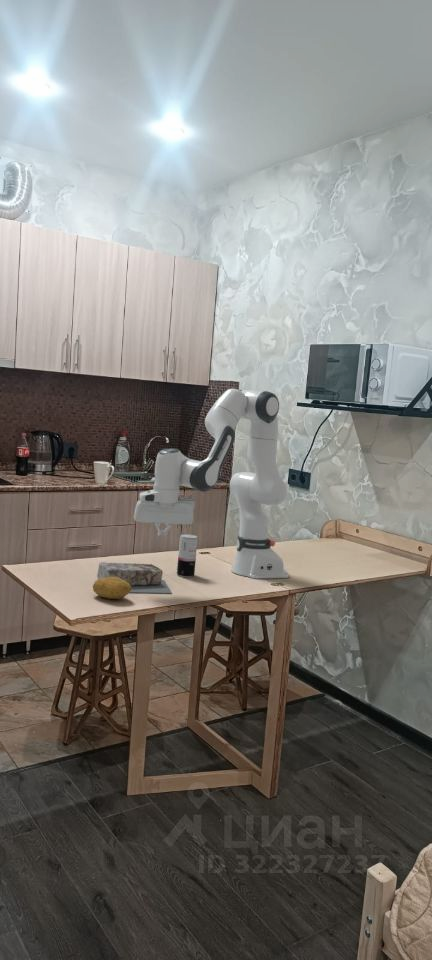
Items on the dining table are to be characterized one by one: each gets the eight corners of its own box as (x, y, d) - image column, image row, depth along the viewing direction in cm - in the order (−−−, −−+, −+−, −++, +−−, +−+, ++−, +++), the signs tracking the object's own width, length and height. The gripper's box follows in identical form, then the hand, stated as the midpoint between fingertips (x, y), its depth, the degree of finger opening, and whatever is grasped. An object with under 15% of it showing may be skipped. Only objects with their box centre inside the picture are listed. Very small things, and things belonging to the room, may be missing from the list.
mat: (164, 581, 254) (164, 580, 254) (171, 594, 239) (172, 592, 239) (111, 579, 250) (111, 578, 250) (115, 592, 234) (115, 591, 234)
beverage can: (173, 574, 266) (176, 534, 264) (187, 572, 270) (190, 533, 268) (183, 578, 261) (187, 538, 259) (197, 576, 265) (201, 537, 263)
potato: (109, 591, 235) (110, 571, 235) (136, 601, 228) (137, 580, 227) (87, 595, 228) (89, 575, 228) (114, 605, 220) (116, 584, 220)
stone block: (163, 566, 246) (107, 566, 237) (162, 586, 246) (106, 587, 237) (150, 561, 258) (96, 562, 249) (149, 580, 258) (95, 581, 249)
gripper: (193, 496, 248) (190, 535, 249) (135, 493, 243) (132, 532, 244) (197, 499, 242) (193, 539, 243) (137, 495, 237) (134, 536, 238)
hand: (162, 535), depth 244 cm, fingers closed
